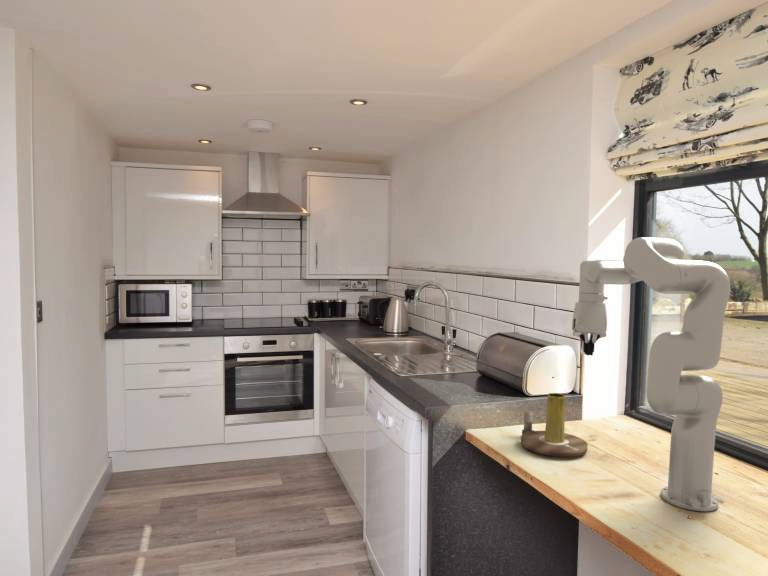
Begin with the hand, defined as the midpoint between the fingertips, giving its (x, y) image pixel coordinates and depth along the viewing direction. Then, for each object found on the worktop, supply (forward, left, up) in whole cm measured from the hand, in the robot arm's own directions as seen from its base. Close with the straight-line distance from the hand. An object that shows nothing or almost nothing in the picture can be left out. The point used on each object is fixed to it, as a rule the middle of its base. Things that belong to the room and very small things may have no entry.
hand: (588, 354), depth 182 cm
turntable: (-11, +12, -27) cm, 32 cm away
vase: (-12, +11, -26) cm, 30 cm away
